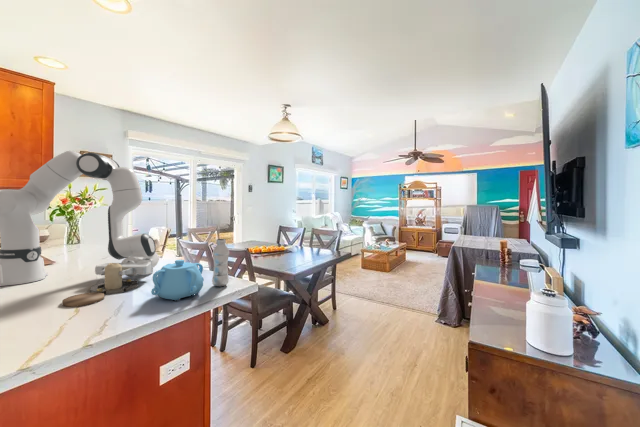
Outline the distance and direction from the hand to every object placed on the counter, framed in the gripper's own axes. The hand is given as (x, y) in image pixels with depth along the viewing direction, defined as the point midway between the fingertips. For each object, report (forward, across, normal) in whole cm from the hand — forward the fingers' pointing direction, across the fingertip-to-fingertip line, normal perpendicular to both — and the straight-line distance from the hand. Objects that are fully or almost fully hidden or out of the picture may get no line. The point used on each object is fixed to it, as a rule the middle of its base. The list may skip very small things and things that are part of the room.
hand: (111, 273), depth 106 cm
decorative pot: (+7, +29, +7) cm, 31 cm away
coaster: (+12, -1, +7) cm, 14 cm away
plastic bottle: (-4, +41, +6) cm, 42 cm away
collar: (-2, 0, +6) cm, 7 cm away
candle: (-1, 0, +6) cm, 6 cm away
